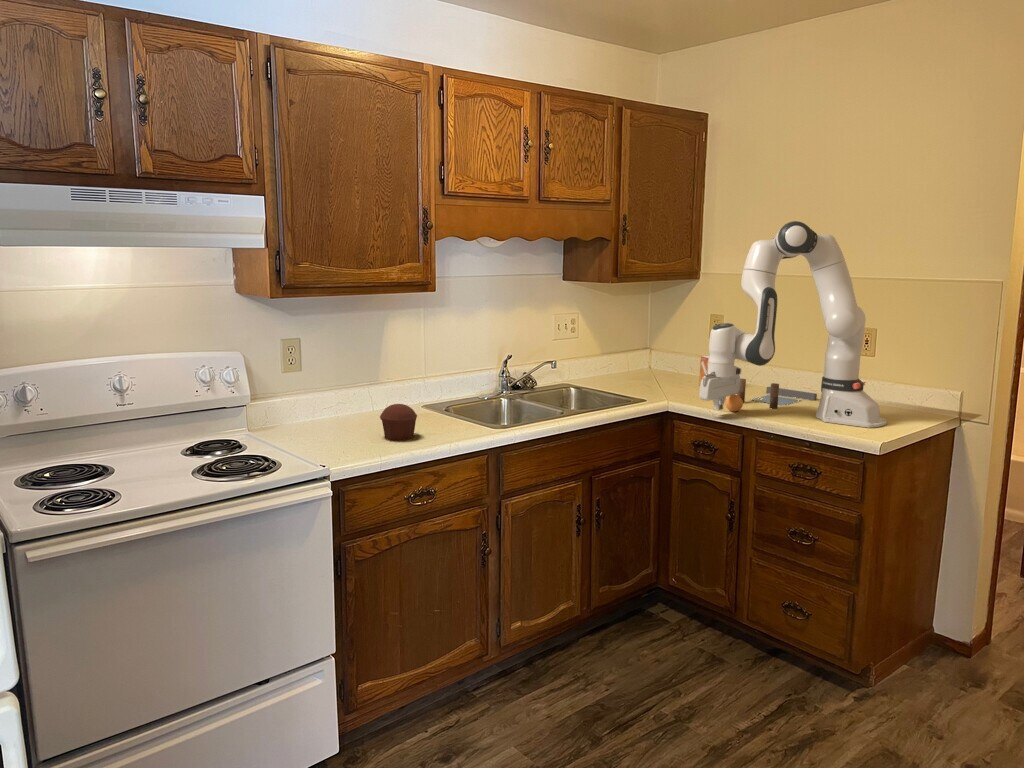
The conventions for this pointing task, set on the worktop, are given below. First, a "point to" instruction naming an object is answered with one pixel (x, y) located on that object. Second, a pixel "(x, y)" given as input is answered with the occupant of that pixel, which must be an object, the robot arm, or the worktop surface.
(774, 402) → the post
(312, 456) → the worktop surface
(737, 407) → the ball
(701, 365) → the small box
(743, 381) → the post
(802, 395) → the wall
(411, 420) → the muffin
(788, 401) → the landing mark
